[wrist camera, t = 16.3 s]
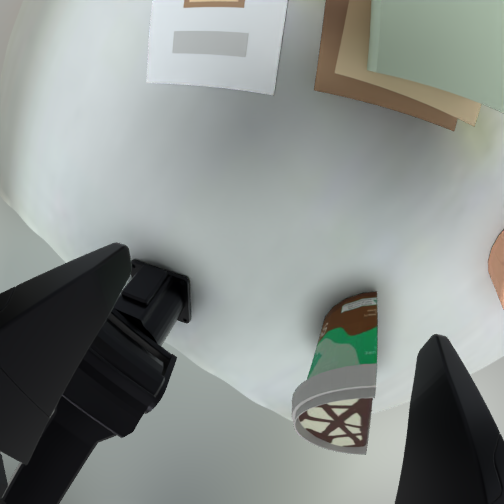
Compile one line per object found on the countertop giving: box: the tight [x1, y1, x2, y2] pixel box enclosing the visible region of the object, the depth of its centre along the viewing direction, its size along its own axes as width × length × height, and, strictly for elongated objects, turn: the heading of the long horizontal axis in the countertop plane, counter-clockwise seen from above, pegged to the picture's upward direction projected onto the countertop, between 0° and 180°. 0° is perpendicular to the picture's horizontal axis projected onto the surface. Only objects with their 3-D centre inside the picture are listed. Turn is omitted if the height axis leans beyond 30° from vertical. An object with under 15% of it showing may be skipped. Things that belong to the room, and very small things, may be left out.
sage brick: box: [367, 0, 504, 113], centre depth 7 cm, size 4×4×4 cm
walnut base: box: [314, 0, 458, 131], centre depth 12 cm, size 8×8×2 cm
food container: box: [292, 291, 378, 455], centre depth 23 cm, size 12×6×10 cm, turn 16°
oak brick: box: [335, 0, 481, 127], centre depth 9 cm, size 6×6×4 cm
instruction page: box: [146, 0, 288, 95], centre depth 13 cm, size 12×9×1 cm
